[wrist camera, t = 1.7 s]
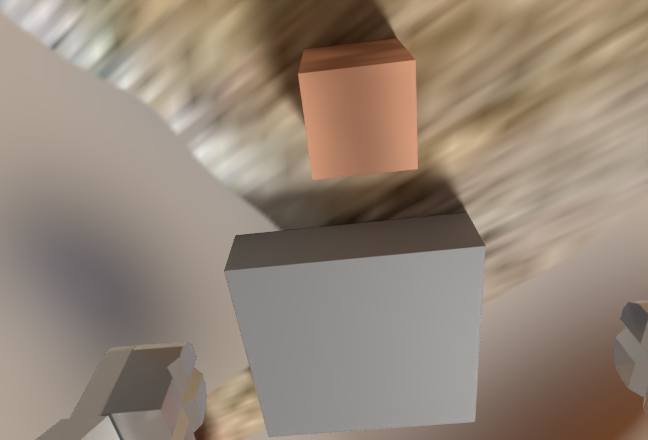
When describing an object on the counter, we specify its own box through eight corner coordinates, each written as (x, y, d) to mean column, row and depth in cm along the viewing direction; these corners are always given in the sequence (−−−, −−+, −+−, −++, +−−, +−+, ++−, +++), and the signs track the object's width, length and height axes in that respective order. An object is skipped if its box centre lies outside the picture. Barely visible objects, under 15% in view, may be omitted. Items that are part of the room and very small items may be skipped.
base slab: (466, 212, 30) (485, 246, 27) (460, 378, 38) (474, 421, 34) (235, 235, 31) (224, 270, 28) (273, 393, 38) (268, 437, 35)
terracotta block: (396, 38, 25) (415, 59, 20) (400, 128, 28) (417, 168, 22) (303, 49, 26) (298, 73, 20) (314, 137, 28) (312, 180, 23)
